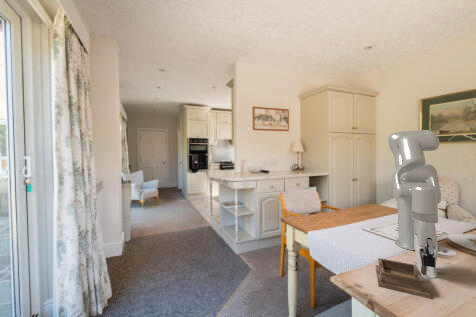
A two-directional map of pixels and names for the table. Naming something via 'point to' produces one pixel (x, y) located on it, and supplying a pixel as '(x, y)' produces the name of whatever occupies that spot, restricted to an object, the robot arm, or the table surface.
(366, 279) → the table surface
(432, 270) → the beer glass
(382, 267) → the brown wooden tray
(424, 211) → the robot arm
